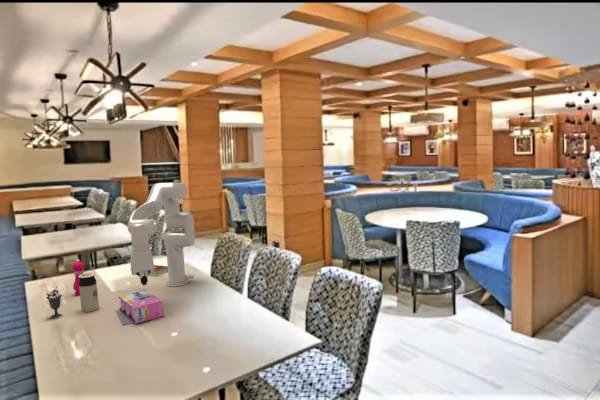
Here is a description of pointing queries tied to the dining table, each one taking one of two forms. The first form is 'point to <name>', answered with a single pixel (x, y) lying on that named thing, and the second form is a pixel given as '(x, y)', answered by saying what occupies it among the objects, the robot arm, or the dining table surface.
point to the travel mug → (88, 292)
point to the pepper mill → (77, 275)
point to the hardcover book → (157, 270)
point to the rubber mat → (123, 318)
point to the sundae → (54, 302)
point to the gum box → (141, 306)
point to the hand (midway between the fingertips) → (144, 284)
